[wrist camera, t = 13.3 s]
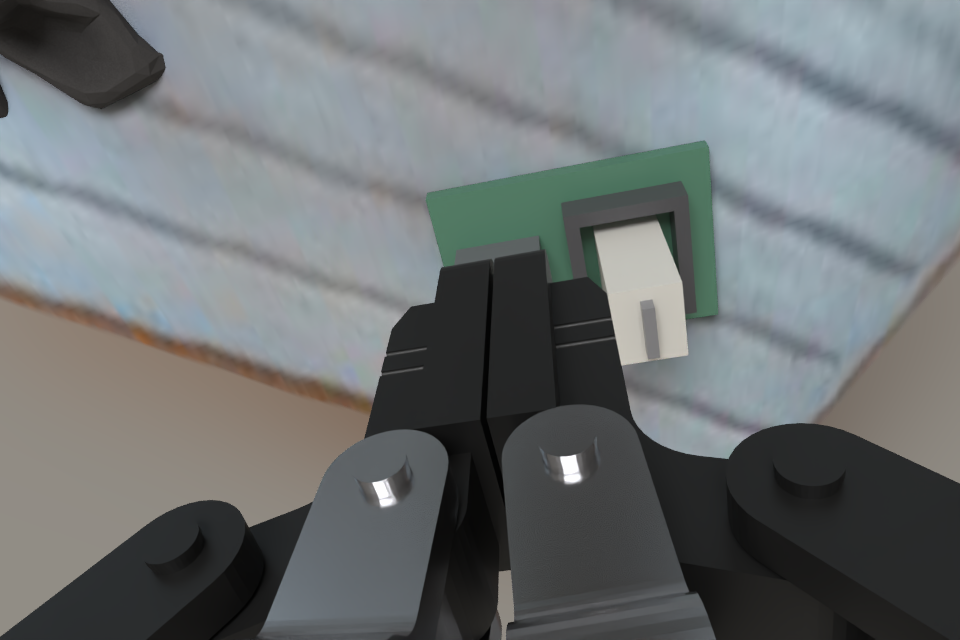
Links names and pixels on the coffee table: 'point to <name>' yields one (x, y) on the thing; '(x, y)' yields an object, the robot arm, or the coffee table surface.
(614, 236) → the plug
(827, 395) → the coffee table surface
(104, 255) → the coffee table surface
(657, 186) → the header board
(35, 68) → the cloth
